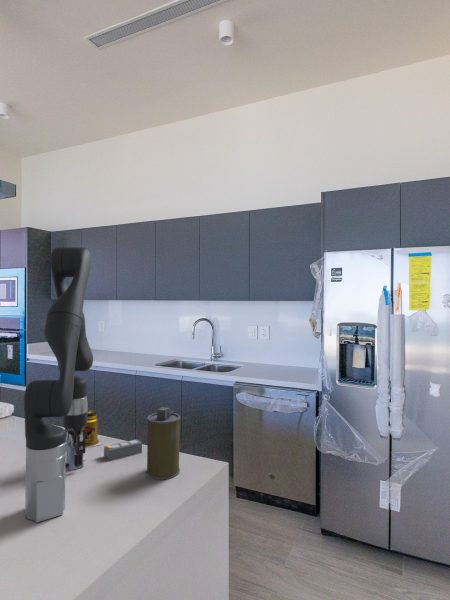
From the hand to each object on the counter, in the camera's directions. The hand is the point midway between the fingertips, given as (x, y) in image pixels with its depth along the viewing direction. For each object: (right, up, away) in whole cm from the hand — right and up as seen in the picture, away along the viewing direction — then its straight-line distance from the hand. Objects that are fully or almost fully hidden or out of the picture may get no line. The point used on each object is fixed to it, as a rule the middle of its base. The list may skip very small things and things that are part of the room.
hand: (74, 461), depth 123 cm
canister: (+29, -2, -3) cm, 29 cm away
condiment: (-3, -2, +21) cm, 21 cm away
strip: (+13, -2, +10) cm, 17 cm away
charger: (-1, -2, -1) cm, 2 cm away
